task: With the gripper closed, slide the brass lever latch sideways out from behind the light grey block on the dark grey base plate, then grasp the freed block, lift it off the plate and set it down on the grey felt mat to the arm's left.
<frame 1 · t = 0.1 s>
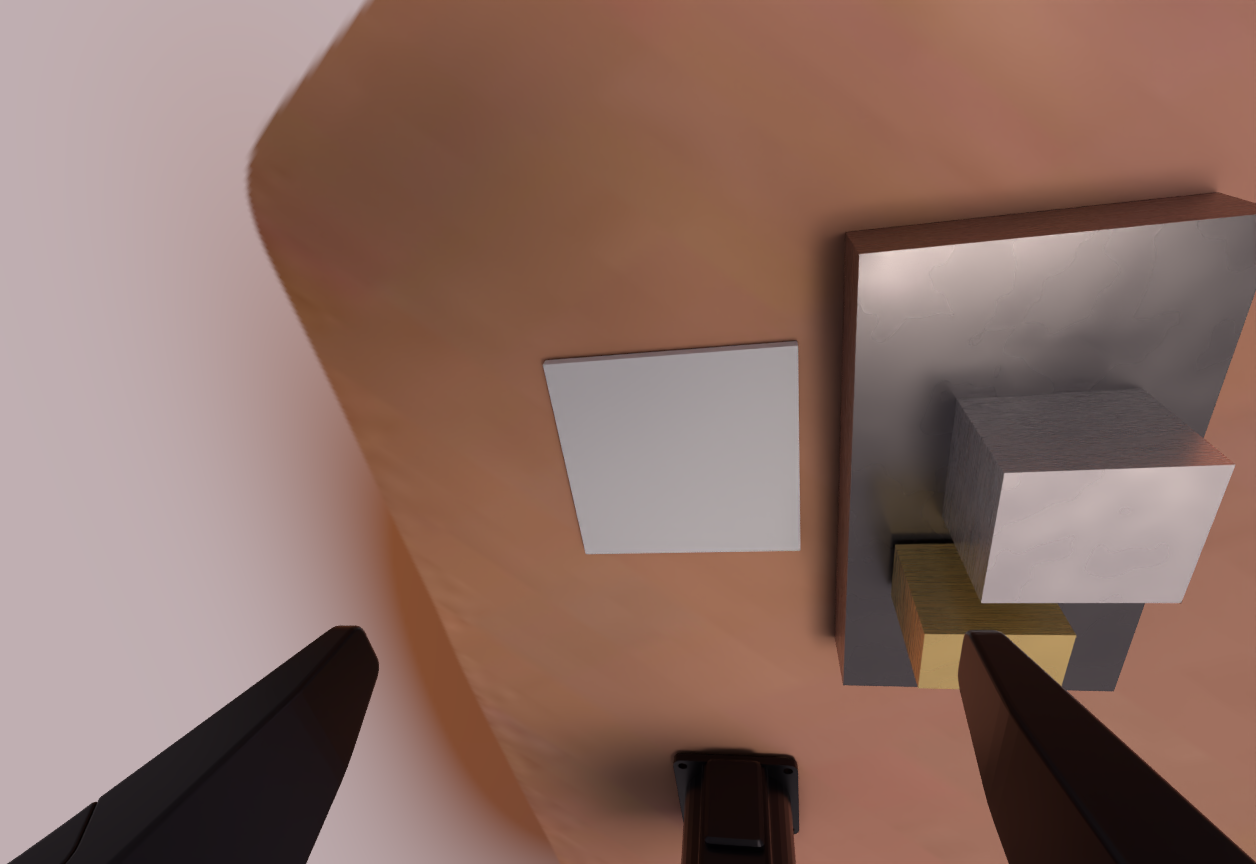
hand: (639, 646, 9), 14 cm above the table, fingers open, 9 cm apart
dark grey base plate: (982, 466, 23), on the table
felt mat: (679, 457, 25), on the table
latch: (971, 612, 21), point 5 cm above the table, slide at 0.0 cm
light grey block: (1034, 457, 20), point 2 cm above the table, touching dark grey base plate
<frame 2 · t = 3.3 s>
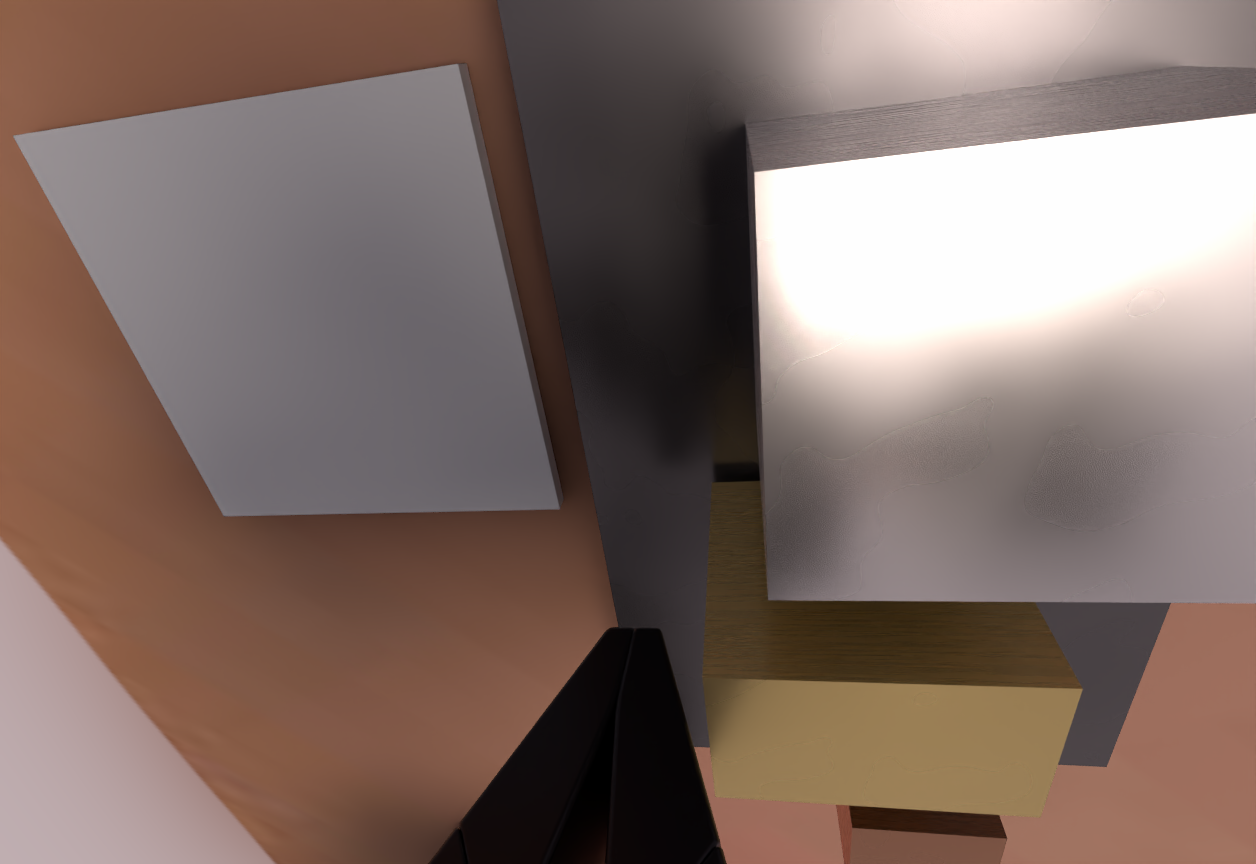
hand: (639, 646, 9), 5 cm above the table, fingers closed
dark grey base plate: (858, 342, 12), on the table
felt mat: (324, 334, 14), on the table
latch: (850, 623, 9), point 5 cm above the table, slide at 0.7 cm, touching gripper
light grey block: (932, 275, 9), point 2 cm above the table, touching dark grey base plate
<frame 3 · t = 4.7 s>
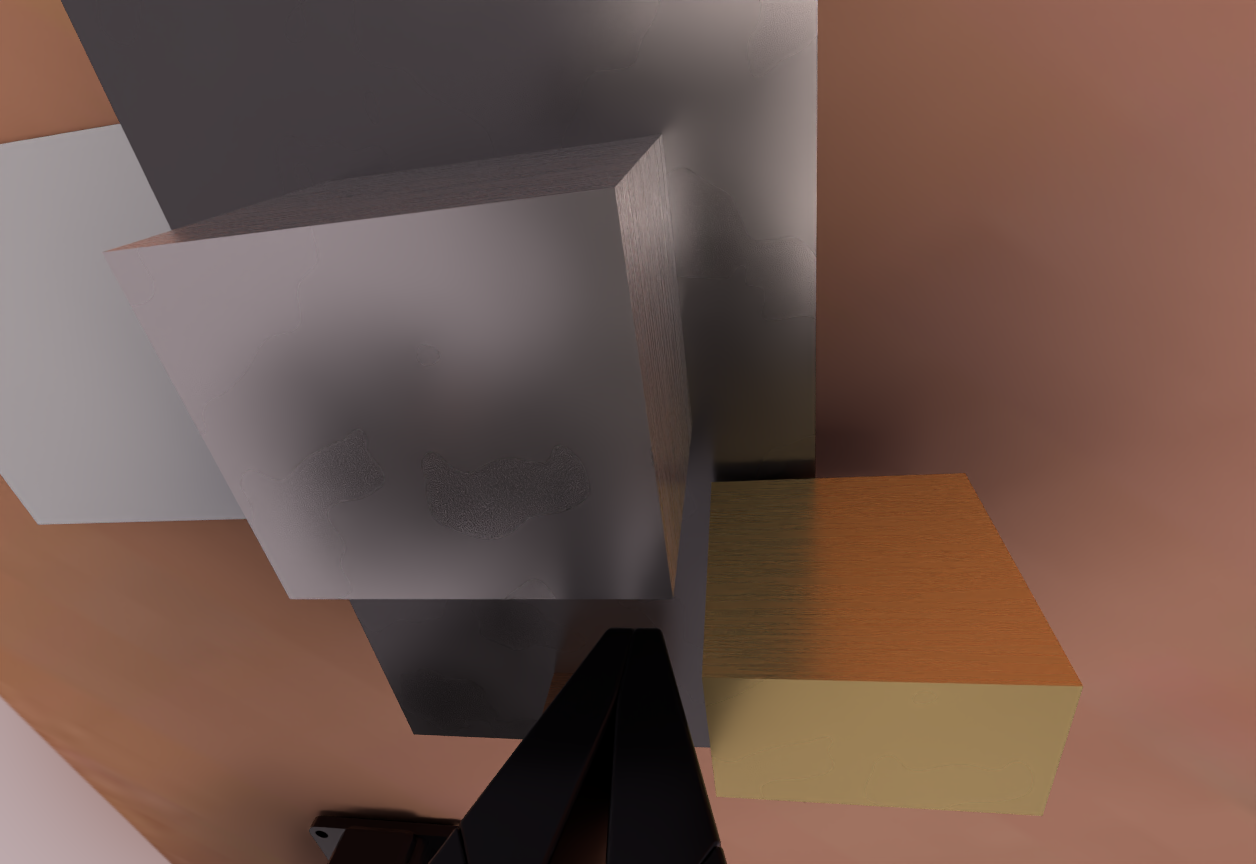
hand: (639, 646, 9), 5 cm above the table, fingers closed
dark grey base plate: (553, 363, 13), on the table
felt mat: (94, 357, 15), on the table
latch: (850, 622, 9), point 5 cm above the table, slide at 6.8 cm, touching gripper
light grey block: (521, 311, 10), point 2 cm above the table, touching dark grey base plate
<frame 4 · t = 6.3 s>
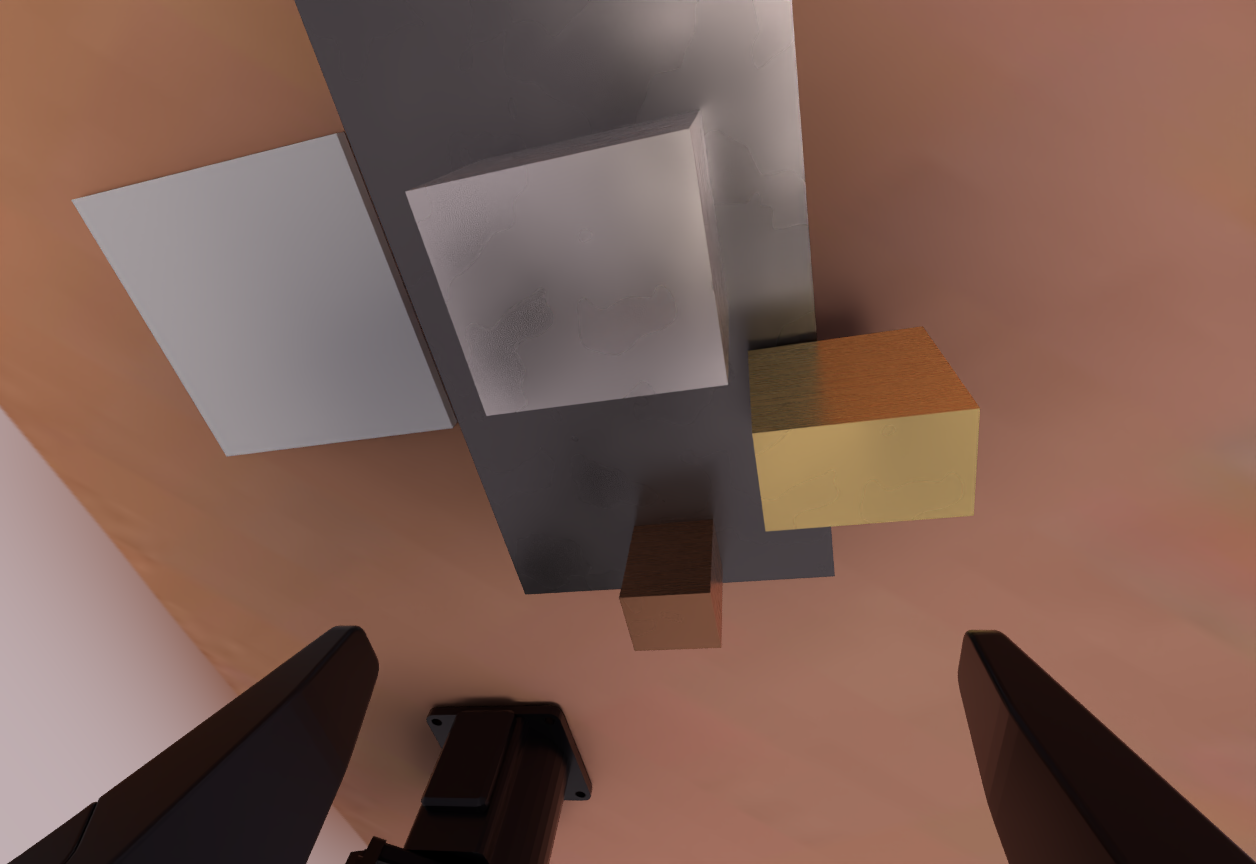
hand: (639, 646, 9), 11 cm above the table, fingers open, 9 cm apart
dark grey base plate: (622, 289, 18), on the table
felt mat: (280, 315, 20), on the table
latch: (847, 423, 14), point 5 cm above the table, slide at 6.8 cm
light grey block: (609, 238, 15), point 2 cm above the table, touching dark grey base plate
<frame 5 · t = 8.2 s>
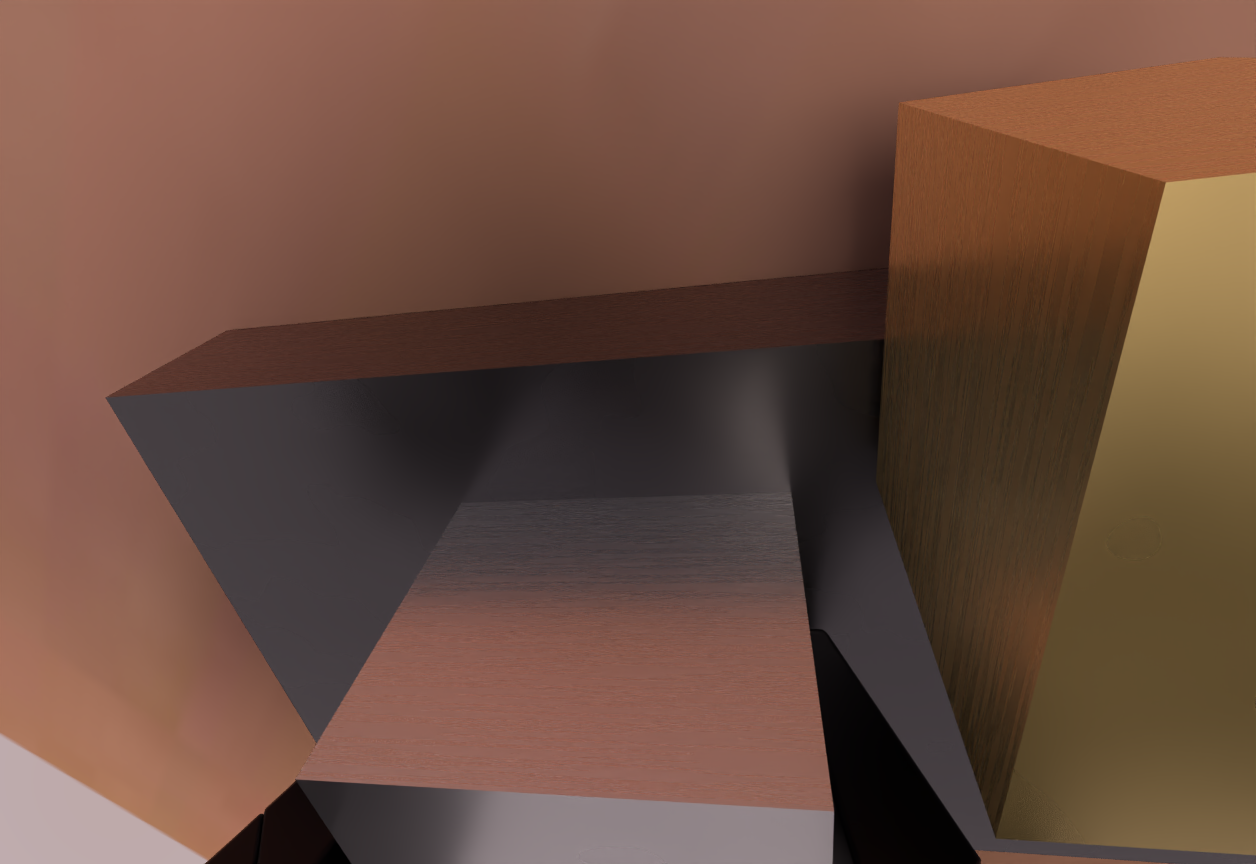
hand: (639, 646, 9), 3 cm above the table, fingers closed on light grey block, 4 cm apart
dark grey base plate: (768, 545, 12), on the table
latch: (1119, 405, 5), point 5 cm above the table, slide at 6.8 cm
light grey block: (642, 630, 10), point 2 cm above the table, touching gripper, dark grey base plate
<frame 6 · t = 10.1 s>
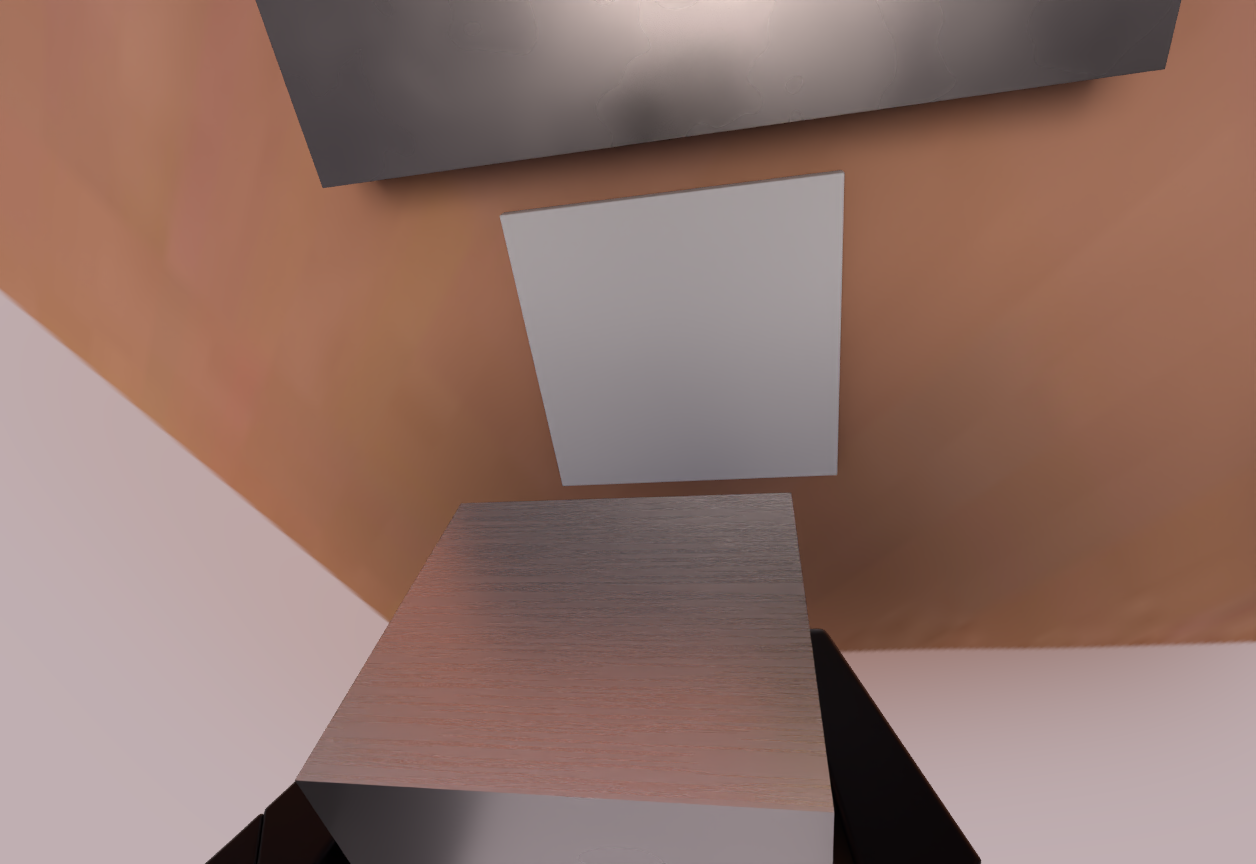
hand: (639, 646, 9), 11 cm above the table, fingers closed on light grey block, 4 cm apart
felt mat: (681, 349, 19), on the table
light grey block: (642, 630, 10), point 11 cm above the table, touching gripper
when the fingers open (2 cm above the table, at t = 12.1 s): light grey block stays where it is, resting on felt mat.
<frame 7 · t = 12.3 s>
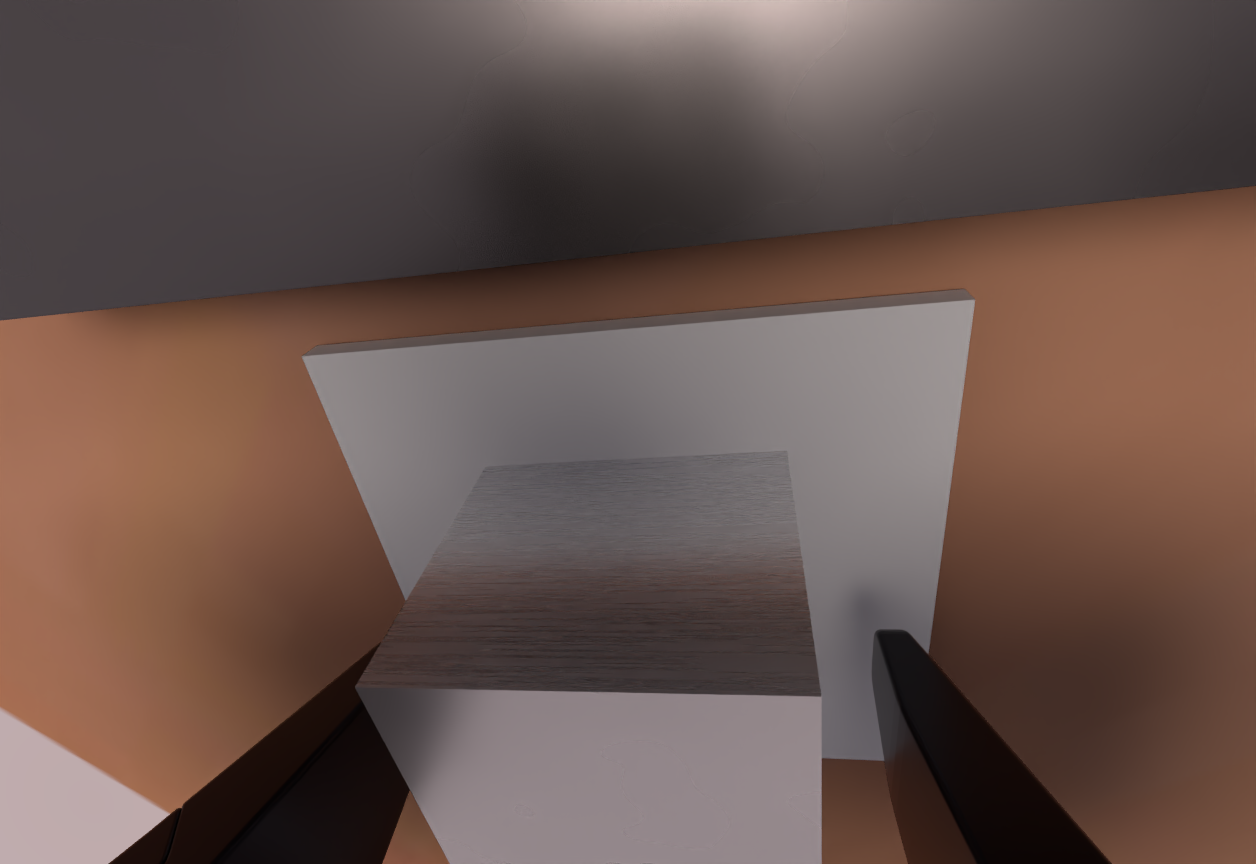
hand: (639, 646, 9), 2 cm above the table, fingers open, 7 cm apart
felt mat: (649, 568, 11), on the table
light grey block: (651, 585, 11), resting on felt mat
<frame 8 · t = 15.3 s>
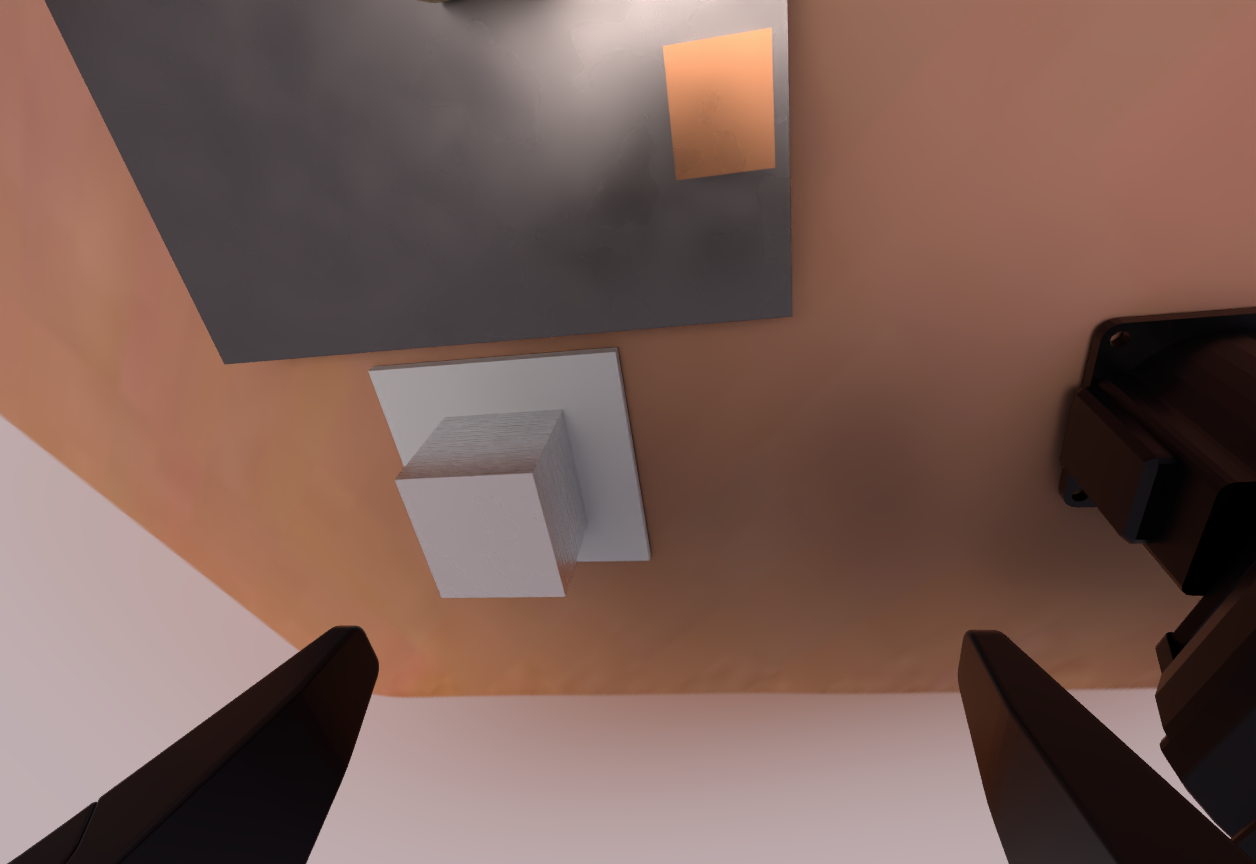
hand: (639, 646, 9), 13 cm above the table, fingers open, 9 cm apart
dark grey base plate: (468, 151, 19), on the table
felt mat: (519, 465, 24), on the table
light grey block: (518, 471, 24), resting on felt mat
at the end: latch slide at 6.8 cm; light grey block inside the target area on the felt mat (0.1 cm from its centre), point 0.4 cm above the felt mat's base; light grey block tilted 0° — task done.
